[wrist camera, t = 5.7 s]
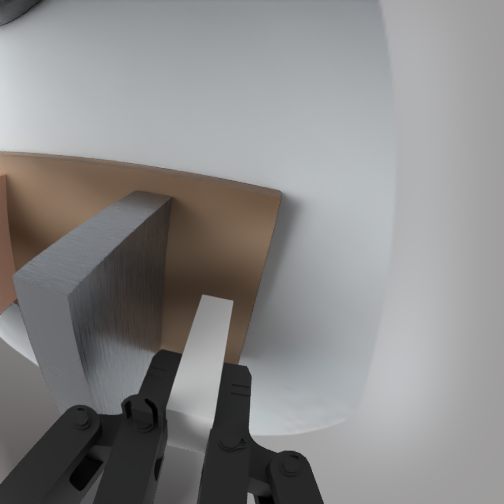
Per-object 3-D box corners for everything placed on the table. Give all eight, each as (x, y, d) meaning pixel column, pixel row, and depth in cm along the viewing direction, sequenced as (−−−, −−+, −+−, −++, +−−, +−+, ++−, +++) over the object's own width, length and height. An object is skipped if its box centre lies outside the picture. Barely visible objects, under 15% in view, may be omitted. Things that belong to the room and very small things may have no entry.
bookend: (135, 190, 14) (11, 275, 6) (172, 196, 14) (67, 296, 6) (133, 338, 18) (80, 448, 10) (161, 345, 18) (117, 463, 10)
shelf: (-5, 151, 14) (-18, 155, 13) (280, 191, 15) (281, 197, 14) (9, 287, 19) (0, 295, 18) (237, 356, 20) (236, 371, 19)
